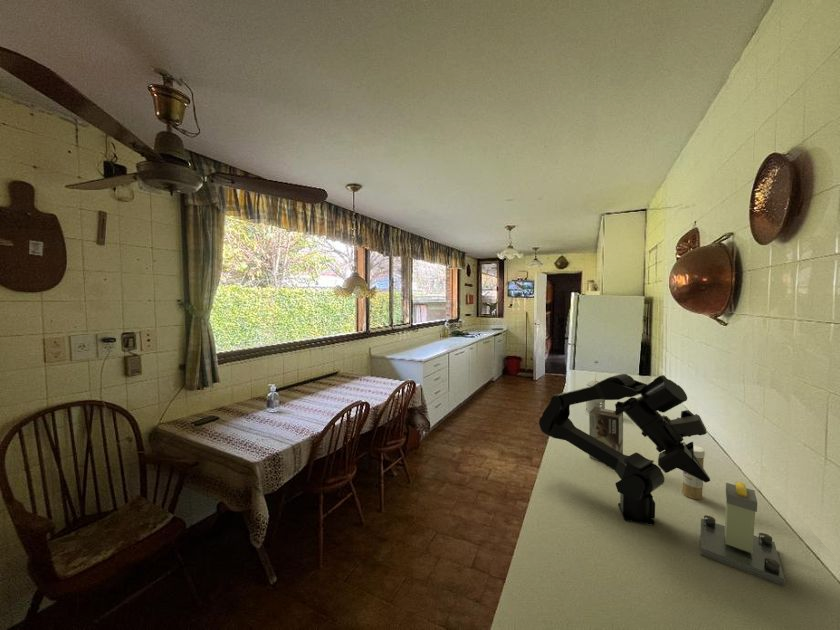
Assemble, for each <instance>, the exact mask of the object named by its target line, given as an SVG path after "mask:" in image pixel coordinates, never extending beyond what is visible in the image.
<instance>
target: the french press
mask: <svg viewBox="0 0 840 630" xmlns="http://www.w3.org/2000/svg"><path fill="white" fill-rule="evenodd" d="M598 363H599V361H598V360H594V361H593V364H598ZM598 382H600V381H598V380H597V375H595V380H590V381H587V382H586V383H585V385H586V386H588V387H590V386H593V385H595V384H597V383H598ZM585 403H586V404H585V410H584V411H585V412H586V413H588V414H589V412H590V411H591V410H592V409H593V408H594V407H596V408H602V409H606V400H602V399H596V400H591V401H586V402H585Z"/></svg>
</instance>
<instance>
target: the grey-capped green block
mask: <svg viewBox="0 0 840 630" xmlns="http://www.w3.org/2000/svg"><path fill="white" fill-rule="evenodd" d="M746 486H747V485H746V484H745V483H744V482H742V481H736V482H735V484H733V483H728V482H726V483H725V497H726V500H725V503H726V504H725V519H724V520H725V521H724V526H725V541H726V544H727V545H730V546H733V547H736V548H738V549H741V550H744V551H747V552H749V553H752V554H753V539H754V536H755V524H756V523H755V521H756V513H758V498H757V495H756V491H755V490H754V489H751V488H747V487H746Z"/></svg>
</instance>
